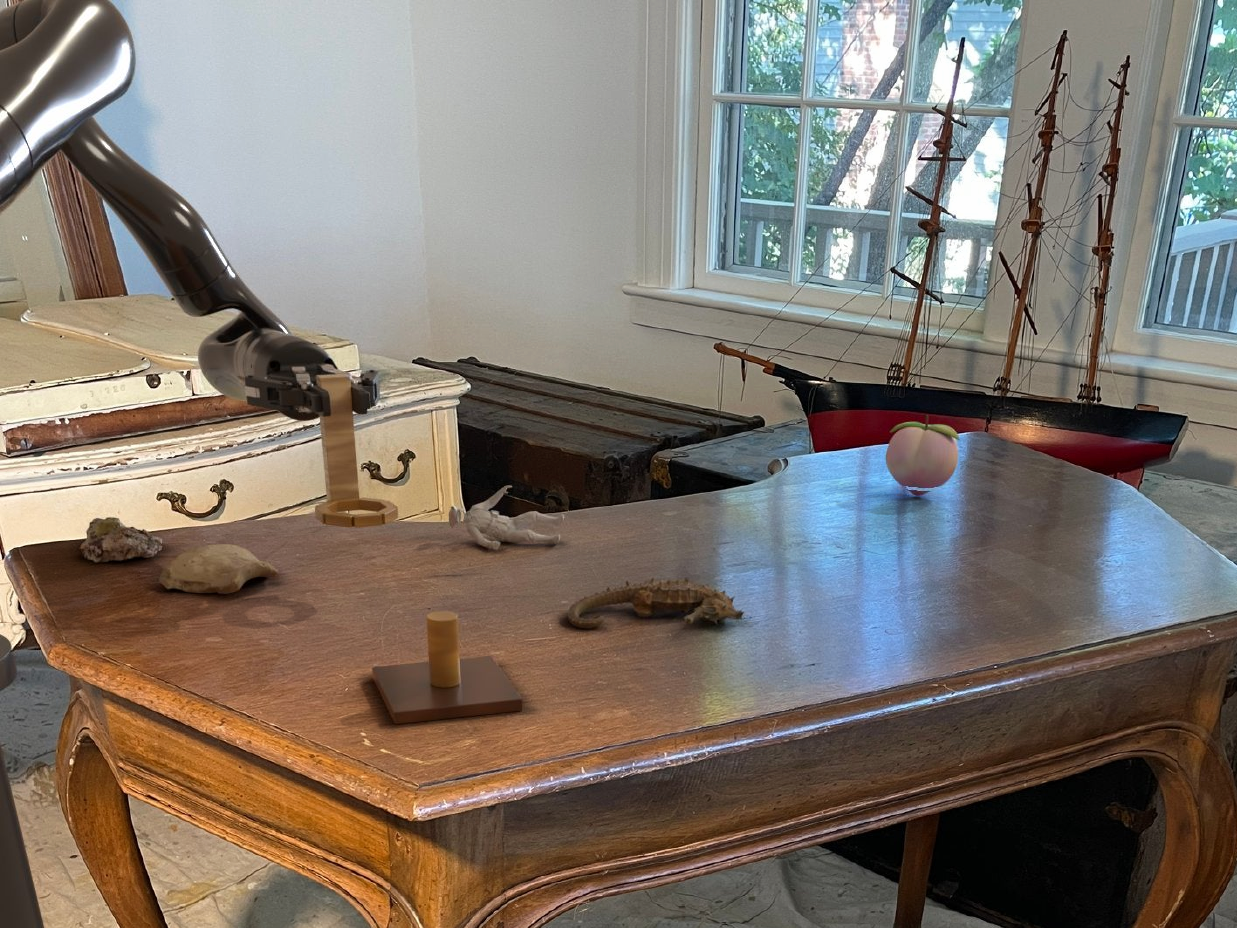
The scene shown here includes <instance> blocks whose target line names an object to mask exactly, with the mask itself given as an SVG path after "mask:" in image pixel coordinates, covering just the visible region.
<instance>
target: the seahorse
mask: <svg viewBox="0 0 1237 928" xmlns="http://www.w3.org/2000/svg"><path fill="white" fill-rule="evenodd" d="M625 584H626V585H621V586H620V587H614V588H612V587H610V586H607V588H606V590H602V591H600V592H598V591H596V592H595V594H590V595H589V596H583V598H582V599H579V600H578V601H575V603H573V604H571V606H570V607H569V609H568V611H567V618H568V621H569V623H570V625H571V626H574V627H576V628H580V629H591V628H596V627H598V626H600V625H602V624H603V623H604V622H605V617H604V615H600V614H595V615H593V616H592V617H591V618H582V617H580V616H581V615H582V614H583V613H585V612H587V611H590V610H592V609H596V608H600V607H605V606H611V605H616V606H617V605H618V604H620V605H623V604H628V603H629V604H632V606H633V608H632V610H633V611H634V612H635V613H636V614H637V615H638V617H641V618H645V617H646V618H647V617H650V616H652V615H653V614H655V613H656V612H659V611H661V610H663V611H665V612H666V613H669V612H670V611H675V612H676V613H679V612H681V611H684V612H685V613H688V612H689V611H690V610H693V612H692V613H691V614H686V615H685V616H684V617H683V620H684V622H685V624H687V625H689V624H692V623H693V622H694V621H697V620H700V619H701V620H703V621H711V622H714V623H715V624H716V626H718V620H720V623H721V624H723V623H724V620H726V619H727V618H729V619H732V620H738V622H739V621H740V620H743V615H744V614H745V612H744V611H742V610H736V609H735V606H734V604H733V603H734V599H735V597H736V596H732V597H731V598H730V596H728V595H727V594H726V589H724V590H722V591H719V590H718V589H716V588H711V587H709V584H708V583H707V584H705V585H704V584H702V585H701V584H698V583H697V582H694V583H693V582H691V581H690V579H689V578H688V577H687V576H686V577H685V578H684V580H679V579H677V580H675V581H673V580H671V579H668V580H663V579H661V580H656V579H655V578H654V577H652V578H651V580H650V581H648V580H645V581H644V582H640V583H634V584H631V583H630V582H629V581H628V580H626V581H625Z"/></svg>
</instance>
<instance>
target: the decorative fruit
mask: <svg viewBox="0 0 1237 928" xmlns="http://www.w3.org/2000/svg"><path fill="white" fill-rule="evenodd" d="M929 419H930V418H929V415H928V414H927V415H925V423H924V424H923V423H921V422H919V421H907V422H903V423H899V424H897V425H895V426H894V427H893V428H892V429H891V430H890V431H889V433H893V432H895V431H897V432H896V433H894V435H893V436H892V437H891V438H890V441H889V442H888V445H887V448H886V452H885V464H886V468H887V470H888V472H889V474H890V475H891V477H892V478H893V479H894V481H896V482H897V484H898V485H900V486H901V485H902V486H901V487H903V486H908V487H918V488H934V487H939V486H940V487H942V486H944V484H946V483H947V482H948V481H949V480H950V479H951V478H952V477H953V475H954V473H955V472H956V469H957V466H958V461H959V445H958V442H957V441H961V439H960V436H959V434H958V432H957V431H955V429H954V428H952V427H951V426H949V425H947V424H940V423H937V424H929ZM940 487H939V488H940ZM906 490H907V491H908V492H910V493H911V494H912V495H914V496H916V497H920V496H923V495H925V494H928V493H929V492H931V491H917V490H908V489H906Z"/></svg>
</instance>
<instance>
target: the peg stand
mask: <svg viewBox="0 0 1237 928" xmlns="http://www.w3.org/2000/svg"><path fill="white" fill-rule="evenodd" d="M458 619H459V618H458V614H457V613H455V612H452V611H447V610H446V611H445V610H439V611H432V612H429V613H428V614H426V618H425V621H426V635H427V654H428V655H427V656H428V661H423V662H413V663H403V664H402V663H401V664H390V665H380V666H372V667H371V671H372V673H371V674H372V679H373V681H374V683H375V686H376V688H377V690H378V691H379V694H380V696H381V698H382V700H383V702H384V704H385V707H386V709H387V711H388V713H389V715H390V717H391V719H392V721H393V723H394V725H401V724H402V725H403V724H410V723H419V722H420V723H421V722H429V721H439V720H446V719H458V718H467V717H475V716H483V715H484V716H485V715H494V714H503V713H512V712H522V711H523V698H522V696H521V695H520V694H519V692H518V691H517V690H516V689H515V687H514V685H513V684H512V683H511V681H510V680H509V679H508V677H507V676H506V675H505V672H504V671H503V670H502V668H501V667H500V666H499V664H498V663H497V662H496V660H495V659H494V657H493V656H492V655H488V656H476V657H465V658H460V639H459V620H458Z"/></svg>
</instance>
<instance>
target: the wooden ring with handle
mask: <svg viewBox="0 0 1237 928" xmlns="http://www.w3.org/2000/svg"><path fill="white" fill-rule="evenodd" d="M316 383H317V386H319V387H320V388H323V389H325V390H327V391H328V392H329V396H330V406H331V416H328V417H322V416H320V415H319V416H320V417H319V427H320V437H321V448H322V461H323V471H324V472H323V473H324V482H325V483H324V484H325V493H326V501H324V502H322V503H319V504H317V505H315V506H314V512H315V514H314V515H315V518H316V520H318V521H319V522H320V523H322V524H323V525H326V526H334V527H340V528H349V529H351V528H353V527H354V528H355V529H356V528H368V527H369V528H370V527H379V526H383V525H388V524H389V523H392V522H393V521H395V520H397V519H398V518H399V507H398V506H397V505H395V504H394V502H393V503H392V502H391V501H390V500H386V499H380V498H371V497H360V485H359V473H358V460H357V447H356V433H355V424H354V423H355V422H354V412H353V407H352V394H351V381H350V376H348V375H346V374H334V375H316ZM353 511H365V512H367V513H356V514H355V513H353V514H351V513H344V512H353Z"/></svg>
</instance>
